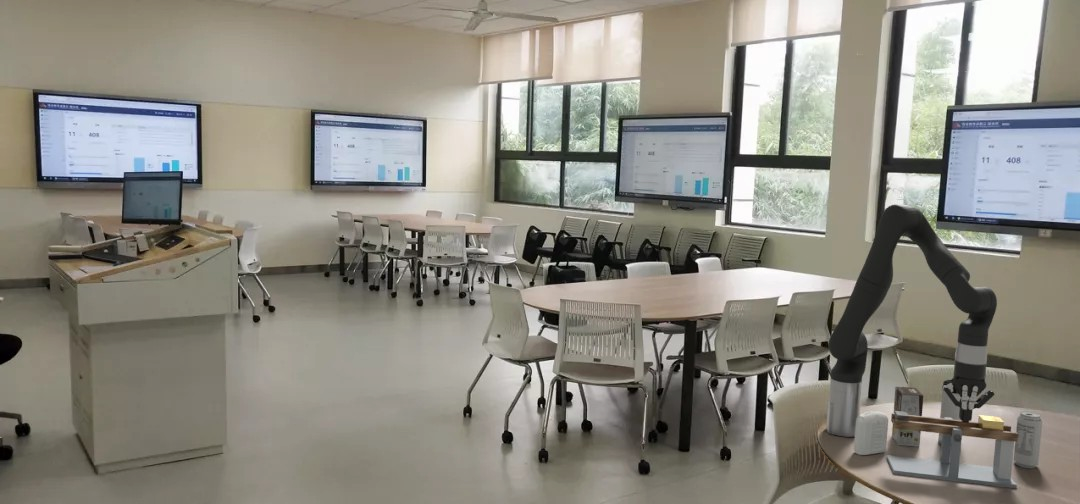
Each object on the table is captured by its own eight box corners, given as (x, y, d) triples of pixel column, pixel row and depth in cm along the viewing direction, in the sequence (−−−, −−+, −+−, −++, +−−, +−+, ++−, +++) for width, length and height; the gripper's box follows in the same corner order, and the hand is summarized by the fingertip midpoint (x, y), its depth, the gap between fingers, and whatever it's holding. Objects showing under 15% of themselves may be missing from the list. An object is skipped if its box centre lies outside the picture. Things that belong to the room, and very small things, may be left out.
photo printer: (876, 447, 233) (879, 407, 232) (888, 452, 230) (891, 411, 228) (851, 452, 229) (854, 411, 228) (862, 457, 225) (865, 415, 224)
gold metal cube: (981, 432, 210) (983, 419, 209) (977, 427, 214) (978, 415, 213) (1002, 435, 208) (1003, 422, 208) (997, 429, 212) (999, 417, 212)
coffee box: (920, 447, 235) (924, 395, 233) (897, 445, 236) (901, 394, 234) (912, 437, 243) (916, 387, 242) (890, 435, 245) (894, 385, 243)
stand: (893, 474, 213) (897, 425, 211) (886, 458, 225) (889, 411, 223) (1017, 489, 205) (1021, 437, 203) (1002, 471, 217) (1006, 422, 215)
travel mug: (965, 448, 234) (970, 384, 232) (941, 446, 236) (946, 382, 234) (958, 441, 240) (963, 378, 238) (935, 439, 242) (940, 376, 240)
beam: (895, 431, 214) (896, 416, 214) (890, 424, 221) (892, 409, 220) (1017, 445, 206) (1018, 429, 206) (1009, 436, 213) (1010, 421, 213)
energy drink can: (1043, 468, 220) (1048, 416, 218) (1026, 469, 218) (1031, 418, 217) (1024, 460, 226) (1029, 410, 224) (1008, 462, 224) (1012, 411, 223)
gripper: (947, 360, 209) (941, 423, 211) (1002, 365, 205) (996, 428, 207) (940, 354, 216) (935, 415, 218) (993, 358, 212) (988, 420, 214)
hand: (965, 421), depth 212 cm, fingers closed
